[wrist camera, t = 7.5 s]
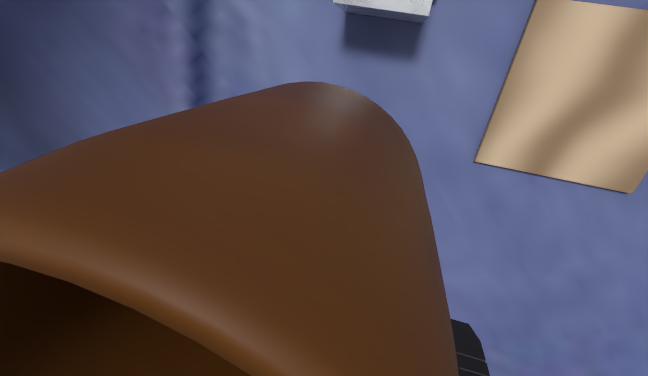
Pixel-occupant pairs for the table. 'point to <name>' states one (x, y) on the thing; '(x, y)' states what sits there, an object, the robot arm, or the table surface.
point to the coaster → (575, 97)
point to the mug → (226, 247)
